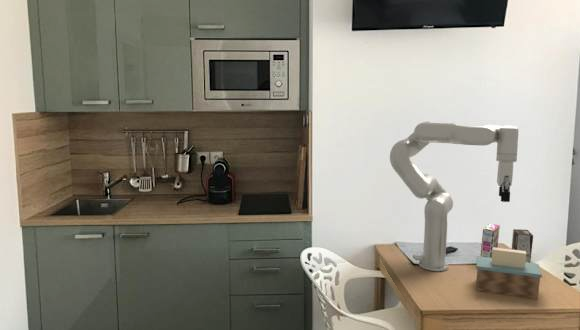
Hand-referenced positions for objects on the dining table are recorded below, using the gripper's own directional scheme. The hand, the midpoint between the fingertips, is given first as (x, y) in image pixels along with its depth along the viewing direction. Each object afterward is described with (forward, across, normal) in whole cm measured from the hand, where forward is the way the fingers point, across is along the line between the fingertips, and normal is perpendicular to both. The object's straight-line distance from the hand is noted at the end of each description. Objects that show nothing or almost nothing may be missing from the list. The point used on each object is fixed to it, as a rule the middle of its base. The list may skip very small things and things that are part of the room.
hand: (504, 198), depth 204 cm
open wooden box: (+34, +10, +2) cm, 36 cm away
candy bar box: (+34, -21, -3) cm, 40 cm away
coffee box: (+35, -18, +10) cm, 41 cm away
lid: (+26, +10, +2) cm, 28 cm away
